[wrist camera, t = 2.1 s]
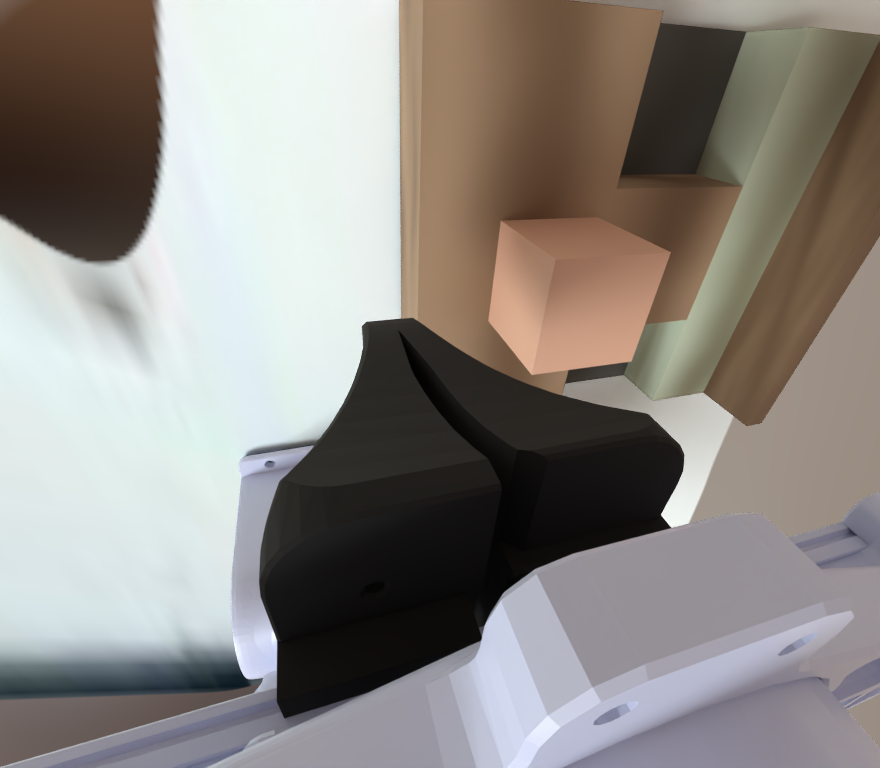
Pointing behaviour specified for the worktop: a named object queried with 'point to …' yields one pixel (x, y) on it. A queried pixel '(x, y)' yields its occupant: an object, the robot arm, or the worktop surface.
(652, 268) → the block
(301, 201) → the worktop surface
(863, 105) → the board
